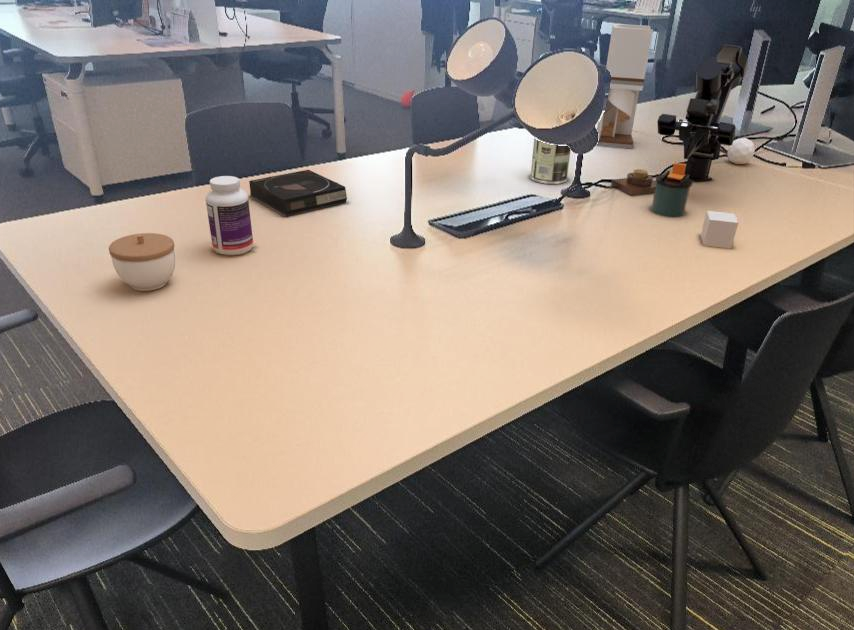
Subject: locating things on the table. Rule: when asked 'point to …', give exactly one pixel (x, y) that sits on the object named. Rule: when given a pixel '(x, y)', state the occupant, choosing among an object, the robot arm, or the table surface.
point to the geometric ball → (741, 151)
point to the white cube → (719, 229)
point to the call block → (635, 185)
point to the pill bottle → (229, 216)
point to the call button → (640, 173)
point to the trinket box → (144, 260)
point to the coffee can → (549, 163)
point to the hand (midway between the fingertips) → (685, 158)
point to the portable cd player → (297, 192)
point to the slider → (677, 171)
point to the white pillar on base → (624, 83)
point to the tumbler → (670, 195)
